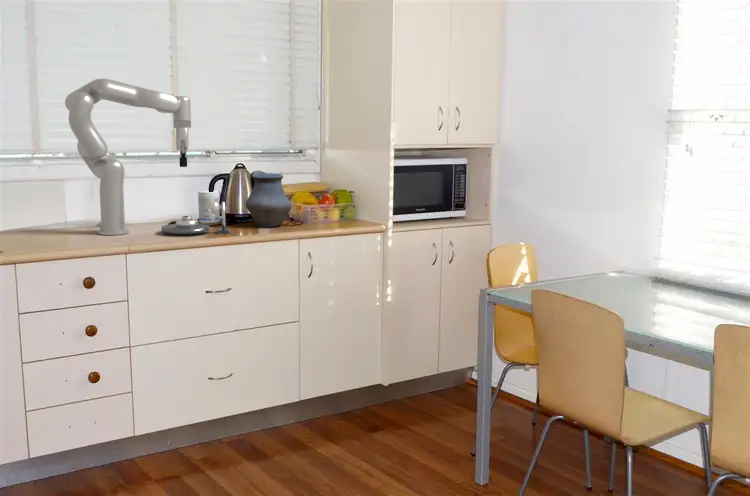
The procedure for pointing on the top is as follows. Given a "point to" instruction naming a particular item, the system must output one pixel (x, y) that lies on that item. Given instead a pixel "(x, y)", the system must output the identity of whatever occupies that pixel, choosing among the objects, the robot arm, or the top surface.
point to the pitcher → (267, 199)
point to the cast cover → (186, 222)
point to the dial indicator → (214, 207)
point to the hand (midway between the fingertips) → (183, 166)
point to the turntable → (174, 230)
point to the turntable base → (186, 234)
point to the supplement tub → (203, 202)
